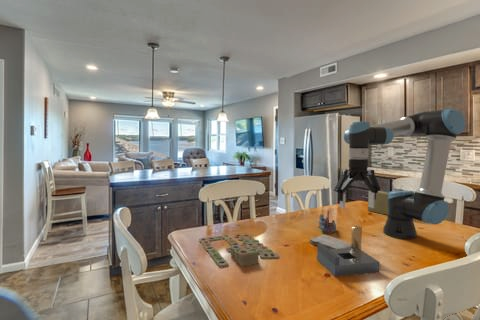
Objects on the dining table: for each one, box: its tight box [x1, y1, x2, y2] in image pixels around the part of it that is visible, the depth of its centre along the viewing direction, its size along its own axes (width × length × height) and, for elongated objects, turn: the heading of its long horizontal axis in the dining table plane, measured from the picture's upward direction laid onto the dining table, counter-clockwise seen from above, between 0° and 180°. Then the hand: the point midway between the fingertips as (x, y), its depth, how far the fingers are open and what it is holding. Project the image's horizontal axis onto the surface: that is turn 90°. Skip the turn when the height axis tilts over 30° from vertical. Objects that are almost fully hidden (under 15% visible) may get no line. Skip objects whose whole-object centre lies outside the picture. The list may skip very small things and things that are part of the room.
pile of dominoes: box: [198, 233, 280, 268], centre depth 121 cm, size 35×27×6 cm
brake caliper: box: [317, 210, 337, 234], centre depth 146 cm, size 11×11×12 cm
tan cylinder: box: [350, 225, 363, 250], centre depth 114 cm, size 4×4×12 cm
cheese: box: [367, 190, 389, 216], centre depth 179 cm, size 22×10×15 cm, turn 24°
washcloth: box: [308, 234, 351, 249], centre depth 124 cm, size 12×18×3 cm, turn 36°
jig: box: [316, 243, 380, 278], centre depth 104 cm, size 18×14×7 cm
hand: (356, 208), depth 113 cm, fingers open, 13 cm apart
